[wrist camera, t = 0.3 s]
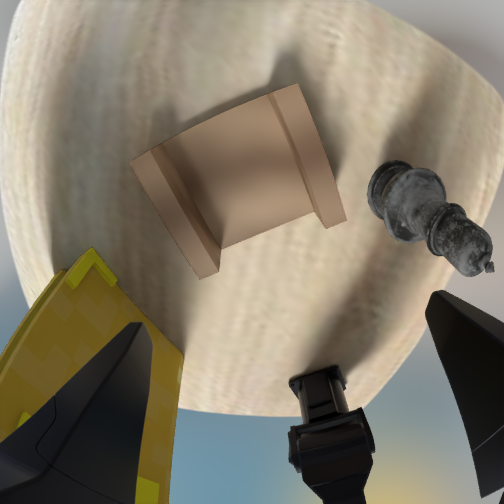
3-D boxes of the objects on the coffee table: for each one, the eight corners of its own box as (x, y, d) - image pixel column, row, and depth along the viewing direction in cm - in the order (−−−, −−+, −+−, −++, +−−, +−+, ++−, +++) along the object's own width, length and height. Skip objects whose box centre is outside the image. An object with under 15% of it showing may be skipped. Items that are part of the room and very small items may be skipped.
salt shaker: (423, 156, 19) (533, 214, 9) (419, 219, 22) (505, 301, 11) (363, 158, 19) (472, 225, 9) (363, 227, 22) (441, 328, 12)
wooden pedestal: (331, 198, 21) (350, 219, 17) (202, 251, 22) (196, 280, 19) (288, 86, 16) (301, 81, 13) (145, 152, 18) (125, 164, 15)
